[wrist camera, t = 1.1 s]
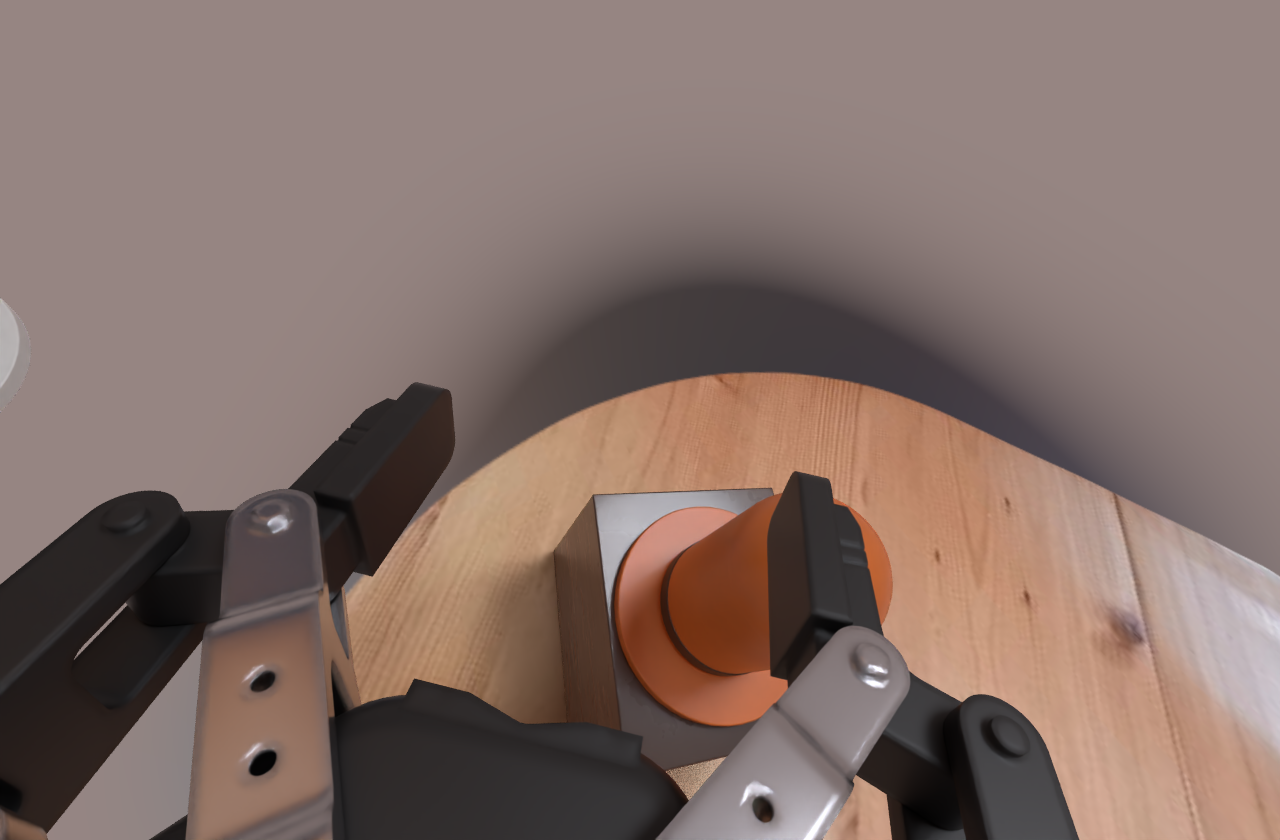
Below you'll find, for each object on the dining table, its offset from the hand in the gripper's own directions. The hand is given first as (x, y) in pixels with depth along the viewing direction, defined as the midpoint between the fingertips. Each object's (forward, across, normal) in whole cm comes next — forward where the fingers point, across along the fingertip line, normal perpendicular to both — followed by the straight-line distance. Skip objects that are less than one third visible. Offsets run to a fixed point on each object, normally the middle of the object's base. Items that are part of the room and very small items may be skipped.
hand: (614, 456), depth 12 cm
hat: (+5, -5, +12) cm, 14 cm away
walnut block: (+8, -3, +21) cm, 23 cm away
